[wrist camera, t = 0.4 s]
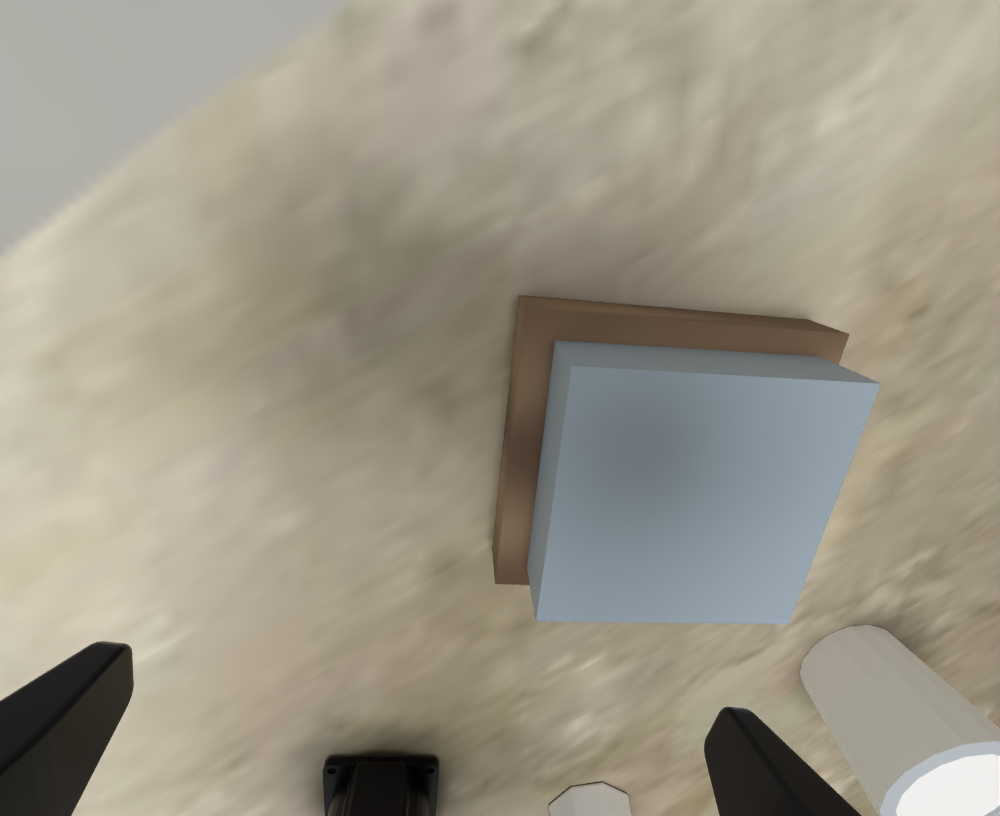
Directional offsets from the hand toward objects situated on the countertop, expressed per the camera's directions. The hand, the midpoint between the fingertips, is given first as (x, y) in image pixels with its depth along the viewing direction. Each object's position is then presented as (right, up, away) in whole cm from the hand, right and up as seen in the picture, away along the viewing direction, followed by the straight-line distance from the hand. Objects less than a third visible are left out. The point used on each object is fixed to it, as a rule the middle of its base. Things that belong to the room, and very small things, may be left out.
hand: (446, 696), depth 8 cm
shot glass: (+21, -10, +21) cm, 31 cm away
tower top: (+7, +2, +13) cm, 15 cm away
